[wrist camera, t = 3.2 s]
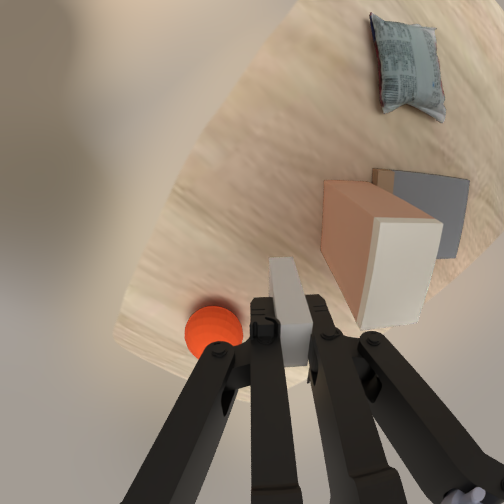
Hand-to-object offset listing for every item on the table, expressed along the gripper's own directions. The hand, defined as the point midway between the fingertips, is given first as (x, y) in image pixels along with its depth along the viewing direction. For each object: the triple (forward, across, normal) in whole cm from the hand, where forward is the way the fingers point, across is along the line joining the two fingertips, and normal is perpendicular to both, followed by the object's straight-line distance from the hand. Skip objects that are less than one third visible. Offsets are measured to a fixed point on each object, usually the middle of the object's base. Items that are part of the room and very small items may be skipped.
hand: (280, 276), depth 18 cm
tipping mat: (+13, -19, 0) cm, 23 cm away
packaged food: (+13, -16, -18) cm, 27 cm away
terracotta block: (+13, -8, 0) cm, 15 cm away
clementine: (+13, +7, +14) cm, 20 cm away
